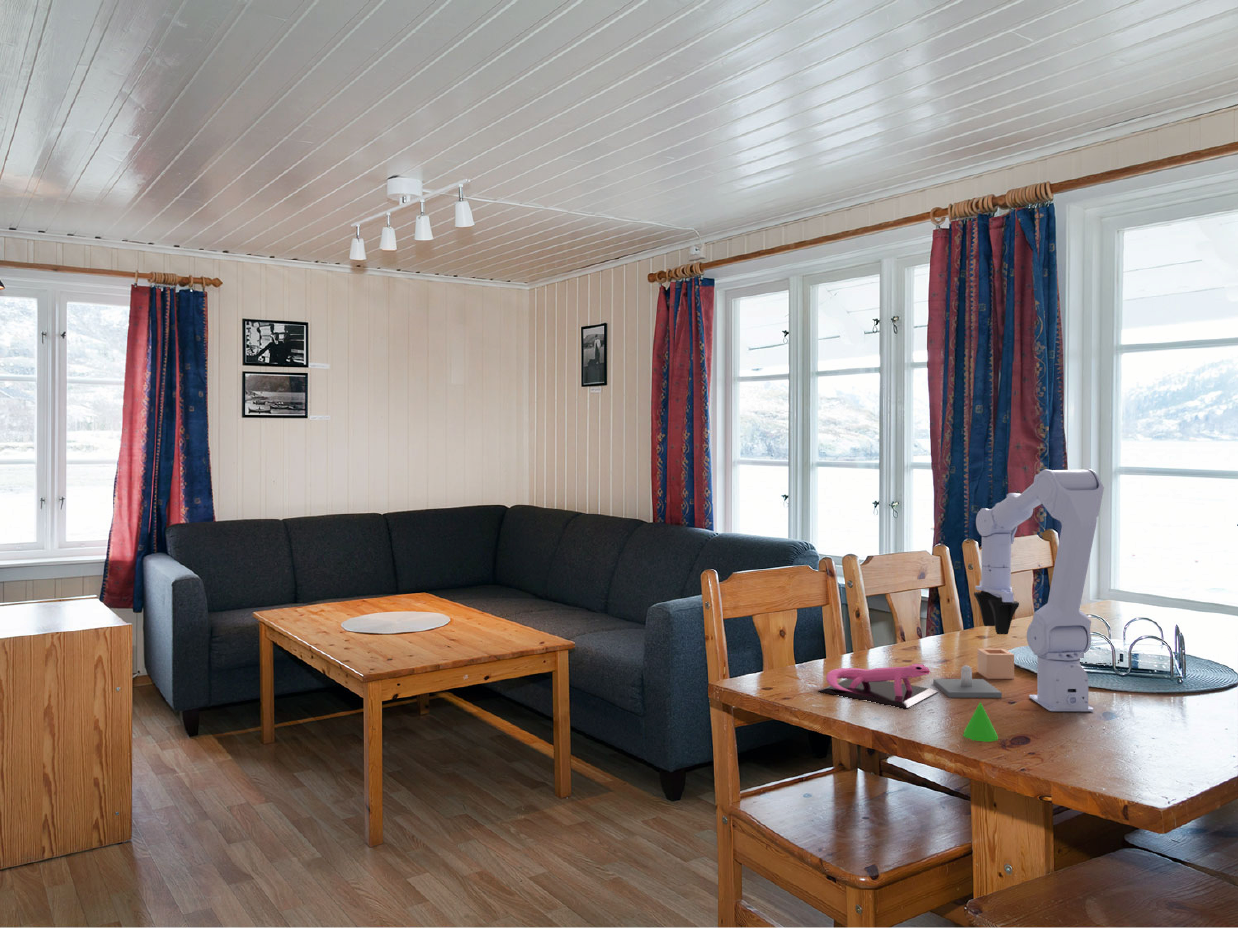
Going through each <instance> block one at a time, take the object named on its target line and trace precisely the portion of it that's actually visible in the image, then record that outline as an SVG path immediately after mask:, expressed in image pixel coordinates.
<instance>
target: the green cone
mask: <svg viewBox="0 0 1238 928" xmlns="http://www.w3.org/2000/svg"><path fill="white" fill-rule="evenodd" d="M963 732H964V734H963V733H962V734H963V735H962V737H963V736H964V737H963V738H966V739H968V738H970V739H969V740H971V739H972V740H971V741H975V740H976V741H977V742H985V743H988V742H989V743H990V742H995V741H998V740H999V735H998V734H997V732H996V729H995V728H994V726H993V724H992V721H991V720H990V717H989V716H988V714H987V711H986V710H985V708H984V706H983V704H982V702H981V701H980V702H979V703H978V705H977V707H976V709H975V710H974V712H973V714H972V716H971V718H970V719H969V721H968V723H967V725H966V727H965V729H964V731H963Z"/></svg>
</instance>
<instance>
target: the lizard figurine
mask: <svg viewBox="0 0 1238 928" xmlns="http://www.w3.org/2000/svg"><path fill="white" fill-rule="evenodd" d="M930 673H931V674H932V672H931V671H930V667H928V666H925V664H921V663H920V664H919V663H913V664H911V665H907V666H893V667H891V666H890V667H877V668H876V667H875V668H871V669H868V668H867V669H866V668H859V667H853V668H852V667H844V668H843V667H842V668H841V667H840V668H835V669H832V670H830V671H828V673H826V679H825V680H826V682H827V683H828V686H826V687H824V688H822V689H820V690H819V689H818V691H817V693H819V692H820V693H821V694H824V693H825V695H830V696H834V695H839V696H843V697H842V698H845V697H848V698H847V699H850V698H852V699H851V700H855V699H858V700H857V701H860V700H867V701H871V702H876V703H879V704H878V705H881V704H884V705H883V706H886V705H891V706H895V707H894V708H896V707H899V708H898V709H901V708H903V710H906V709H907V710H909V709H911V708H912V706H913V707H915V706H916V705H918V704H921V703H922V702H924V701H926V700H928V699H930V698H931V697H933V696H935V695H937V694H939V691H938V690H936V689H932V688H929V687H923V686H918V685H912V684H911V682H910V679H909V678H912V679H914V678H917V677H922V676H925V675H930ZM839 679H843V680H840V681H838V680H839ZM839 696H838V697H839ZM914 705H915V706H914ZM891 706H890V707H891ZM910 707H911V708H910Z"/></svg>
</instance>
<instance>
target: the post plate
mask: <svg viewBox="0 0 1238 928" xmlns="http://www.w3.org/2000/svg"><path fill="white" fill-rule="evenodd" d="M932 681H933V685H934V686H935V687H936V688H938V689H939V690H940V691H941V692H942V693H943V694H945V696H947V697H948V698H949V699H950V698H953V699H954V698H958V699H959V698H964V699H965V698H976V699H977V698H978V699H979V698H984V699H985V698H987V699H989V698H990V699H993V698H999V699H1000V698H1001V699H1002V697H1003V696H1002V691H1000V690H999V689H997V688H996V687H995V686H994V685H992V684H991V683H990V682H988V681H986V680H985V679H984V678H973V671H972V667H971V666H969V665H967V664H965V665H962V667H961V668H960V678H933V679H932Z"/></svg>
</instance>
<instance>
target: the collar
mask: <svg viewBox="0 0 1238 928" xmlns="http://www.w3.org/2000/svg"><path fill="white" fill-rule="evenodd" d="M976 651H977V652H976V653H977V655H976V658H977V660H976V661H977V662H976V664H977V668H976V669H977V670H976V671H977V672H976V673H978V674H979V675H981V676H982V677H984V678H985V679H986V680H987V679H988V680H989V679H990V680H991V679H992V680H994V679H996V680H997V679H998V680H999V679H1002V680H1004V679H1007V680H1009V679H1010V680H1011V679H1013V680H1015V654H1013V653H1012V652H1010V651H1009V650H1007V649H1005V648H977V649H976Z"/></svg>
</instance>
